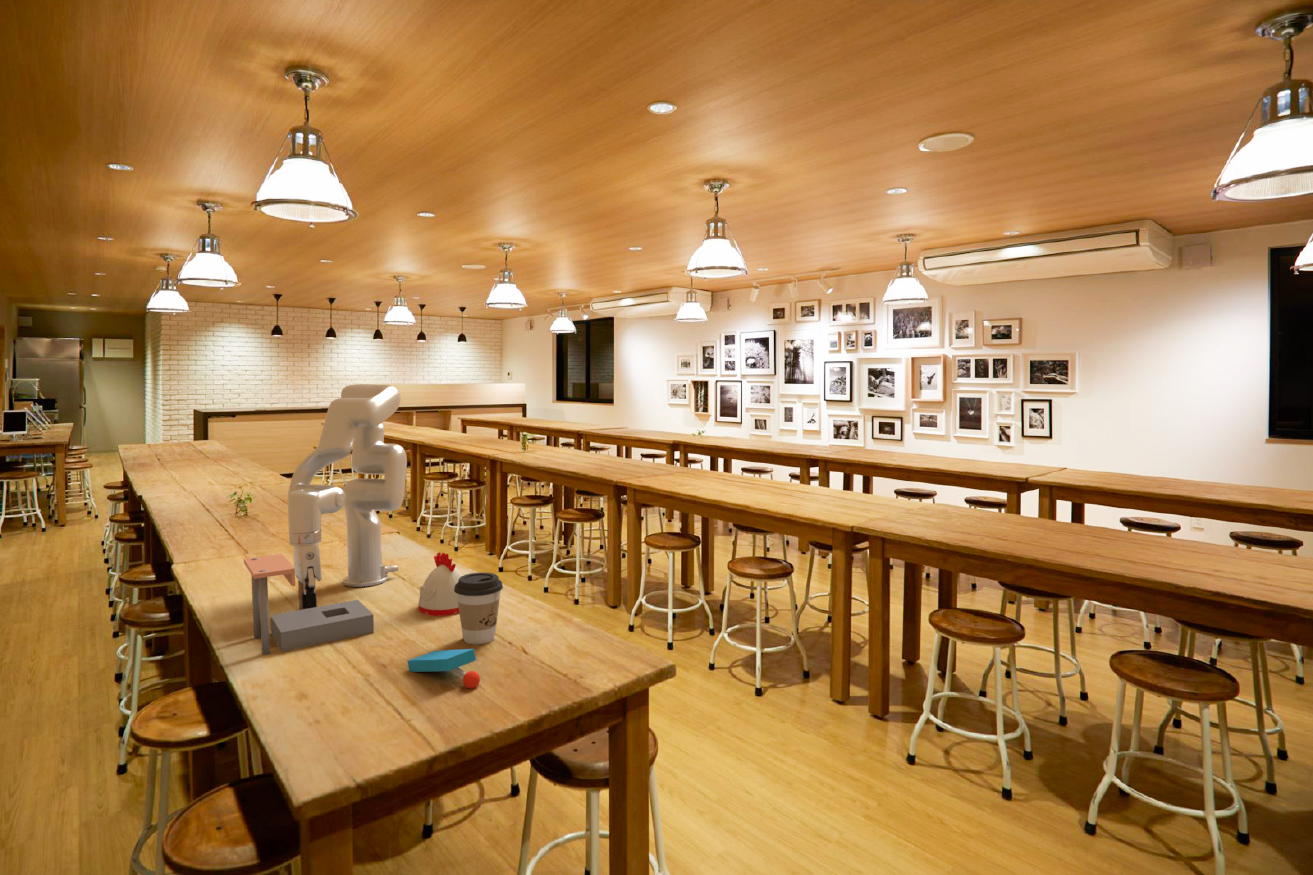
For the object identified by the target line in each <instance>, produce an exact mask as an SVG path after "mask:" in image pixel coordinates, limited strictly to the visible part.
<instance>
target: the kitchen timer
mask: <svg viewBox="0 0 1313 875" xmlns="http://www.w3.org/2000/svg"><path fill="white" fill-rule="evenodd" d="M433 559H434V564H435V566H436V567H435V568H434V569H433V570H432V571H431V572H430V573H429V574H428V576H427V577H426V578H425V580H424V583H423V585H421V586H420V588H419V598H418V611H419V613H421V614H423V615H426V614H427V616H433V617H441V616H442V617H445V616H446V617H447V616H452V615H453V616H454V615H457V614H459V607H458V600H457V593H455V592H454V589H455V584H456V583H458V580H459V578H460V577H461V576H464V574H463V573H462V572H461V571H460V569H458V568H457V567H456V565H457V564H456V563H453V558H450V556H449V553H445V552H442V553H441V551H439V552H437V553H436V555H434V556H433Z"/></svg>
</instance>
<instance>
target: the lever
mask: <svg viewBox="0 0 1313 875" xmlns="http://www.w3.org/2000/svg"><path fill="white" fill-rule="evenodd" d="M475 661H477V658H476V652H475V648H464V649H447V650H446V649H444V650H434V651H430V652H427V653H424V654H421V655H419V656H417V657H413V658H410V659H408V660H407V667H408V671H409V672H412V673H415V672H417V673H419V672H422V673H423V672H450V671H452V672H453V673H455V674H456V675H458V676H460V677H461V678H462V684H463V686H464V687H465V688H466V689H475V688H476V687H478V685H479V684H480V681H481V677H480V675H479V673H478V672H477V671H474V670H470V671H467V672H466V671H465V670H463V669H462V668H461V667H462V666H465V665H468V664H470V663H473V662H475Z"/></svg>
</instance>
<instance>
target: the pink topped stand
mask: <svg viewBox="0 0 1313 875" xmlns="http://www.w3.org/2000/svg"><path fill="white" fill-rule="evenodd" d="M243 563H244V565H245V567H246V568H247V571H248V572H249V573H250V575H251V598H252V600H251V601H252V621H253V622H252V624H253V625H252V626H253V627H252V628H253V639H261V640H260V641H261V655H263V656H267V655H270V654H271V647H270V646H271V643H270V641H271V640H270V618H269V617H270V615H269V614H270V613H269V590H268V588H269V587H268V578H269V577H275V576H282V575H283V577H284V578H285V579H286V580H287V582H288V583H289V584H290V586H292V587H296V576H295V568H294V565H292V564H291V563H290V562H289V560H288V559H287V558H286V557H285V556H284V555H283V554H282V553H277V554H270V555H262V556H256V557H247V558H243Z"/></svg>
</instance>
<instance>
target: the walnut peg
mask: <svg viewBox="0 0 1313 875" xmlns="http://www.w3.org/2000/svg"><path fill="white" fill-rule="evenodd" d="M305 582H308V580H305ZM297 585H298V589H297V590H299V595H298V610H303V608H302V594H303V583H301V582H300V581H299V580H298V581H297ZM307 586H308V584H306V587H307ZM316 587H317V586H316V584H315V588H316Z"/></svg>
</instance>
